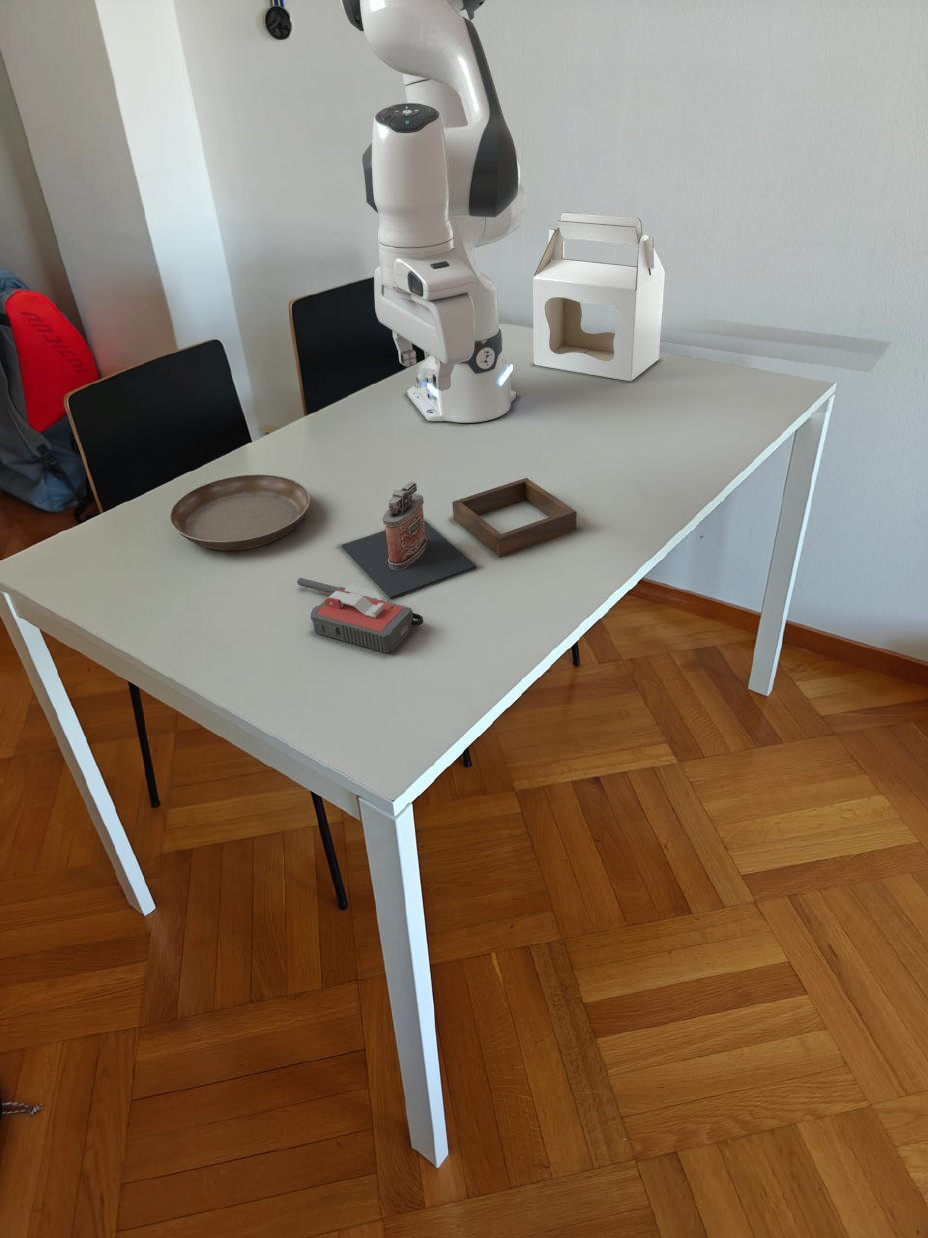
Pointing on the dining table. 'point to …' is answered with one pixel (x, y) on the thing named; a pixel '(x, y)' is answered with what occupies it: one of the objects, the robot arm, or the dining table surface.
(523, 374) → the dining table surface
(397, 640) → the walkie-talkie
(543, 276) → the gable box
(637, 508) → the dining table surface
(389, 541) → the lighter
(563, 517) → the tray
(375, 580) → the mat
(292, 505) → the plant saucer
